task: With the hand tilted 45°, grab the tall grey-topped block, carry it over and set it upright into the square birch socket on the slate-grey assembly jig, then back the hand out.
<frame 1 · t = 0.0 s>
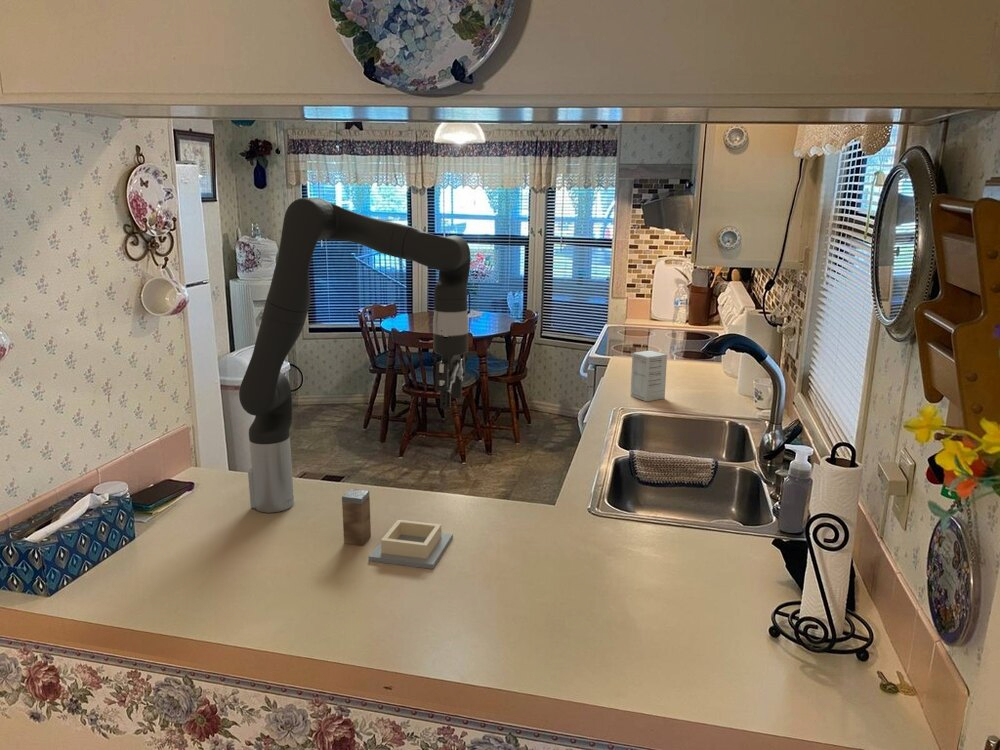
hand: (451, 403, 161), 29 cm above the counter, tool pointing down, fingers open, 8 cm apart
tall grey-topped block: (357, 540, 160), on the counter
jig: (412, 549, 157), on the counter
supplement box: (647, 397, 274), on the counter
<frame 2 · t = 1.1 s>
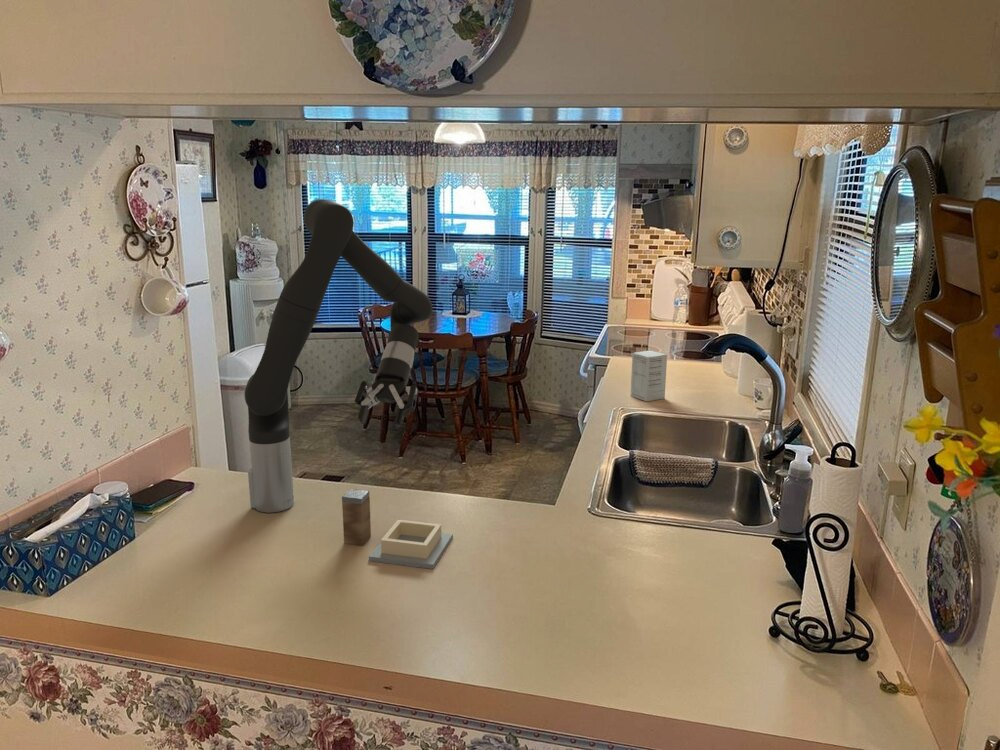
hand: (379, 424, 168), 22 cm above the counter, tool tilted 45°, fingers open, 8 cm apart
nothing on the counter moved.
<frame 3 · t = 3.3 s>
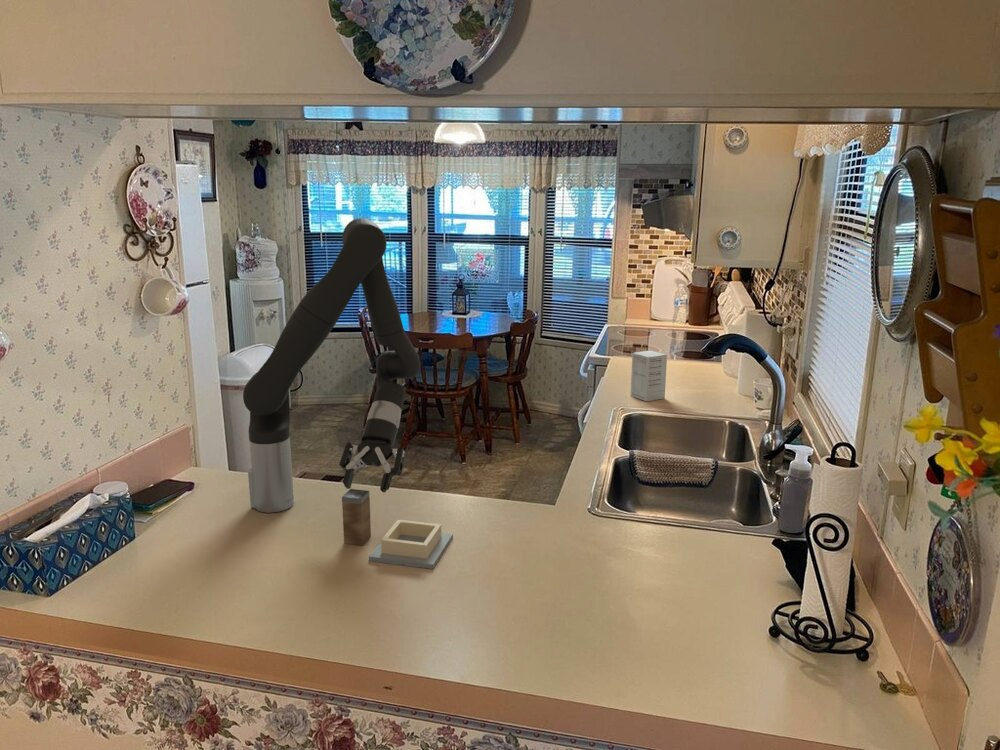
hand: (364, 489, 162), 10 cm above the counter, tool tilted 45°, fingers open, 8 cm apart
nothing on the counter moved.
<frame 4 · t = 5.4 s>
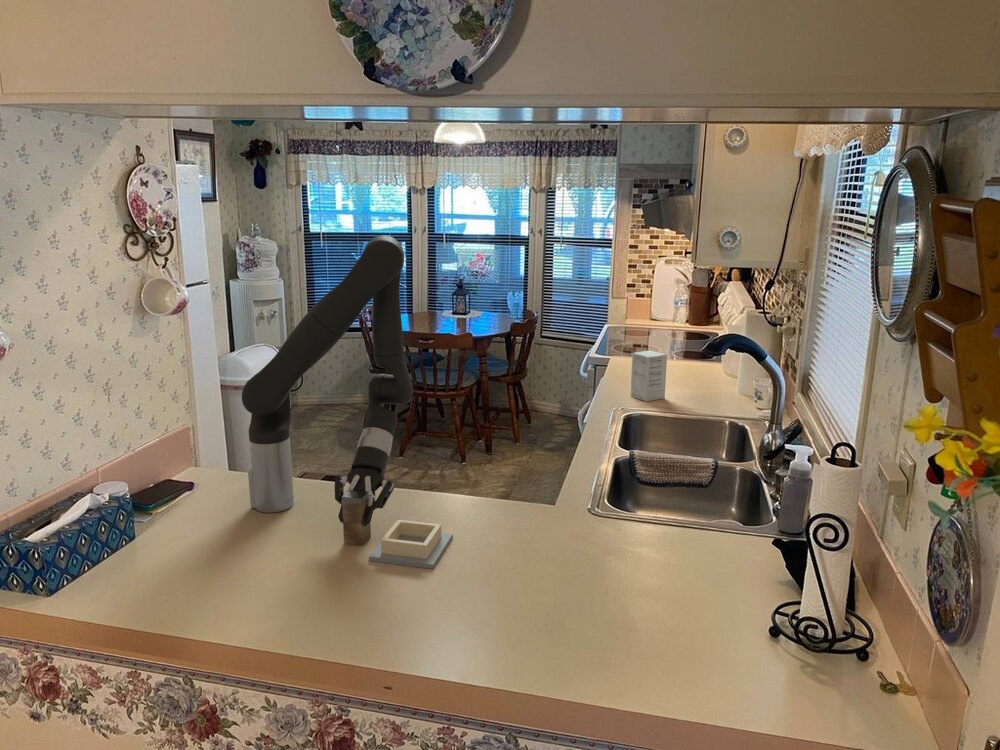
hand: (353, 523, 157), 5 cm above the counter, tool tilted 45°, fingers closed on tall grey-topped block, 4 cm apart
tall grey-topped block: (357, 540, 160), on the counter, touching gripper
everything else where it was.
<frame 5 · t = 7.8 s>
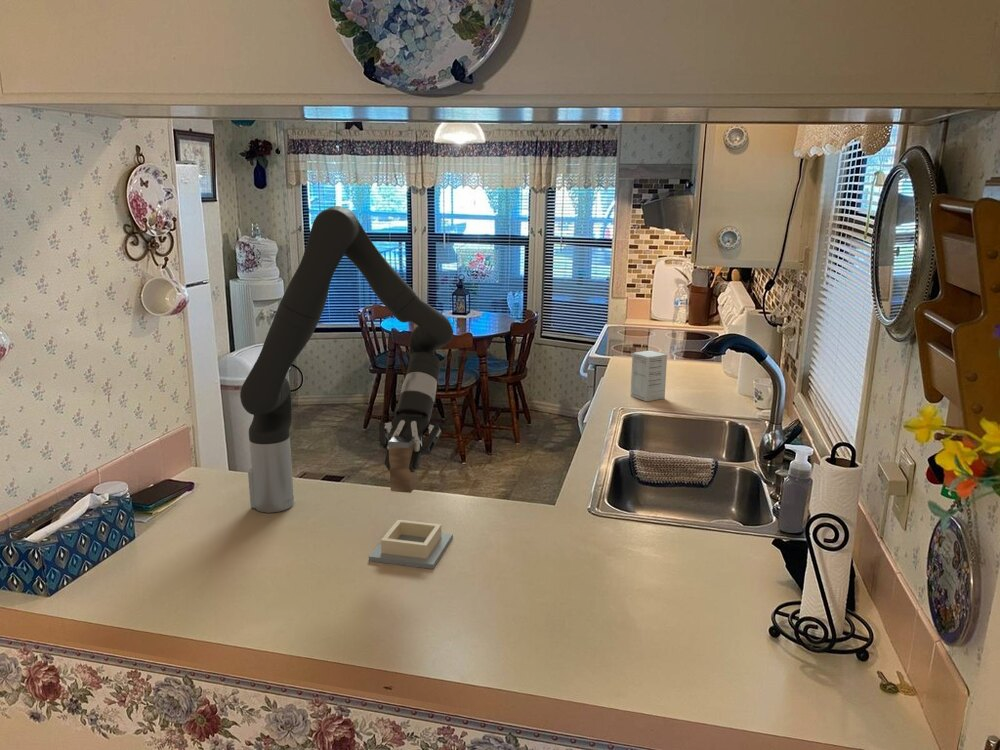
hand: (400, 469, 151), 19 cm above the counter, tool tilted 45°, fingers closed on tall grey-topped block, 4 cm apart
tall grey-topped block: (404, 487, 154), point 14 cm above the counter, touching gripper
everything else where it was.
when the fingers open (7 cm above the counter, at t = 10.4 s): tall grey-topped block drops 1 cm, resting on jig.
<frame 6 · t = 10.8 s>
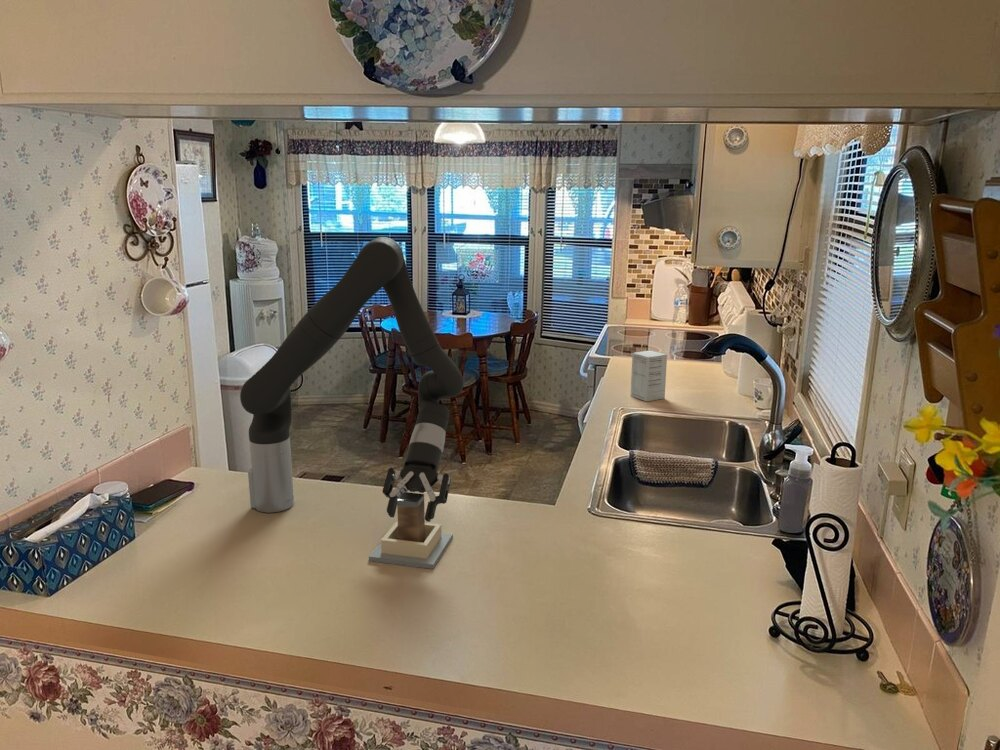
hand: (409, 518, 153), 8 cm above the counter, tool tilted 45°, fingers open, 7 cm apart
tall grey-topped block: (411, 544, 157), point 1 cm above the counter, touching jig
everything else where it was.
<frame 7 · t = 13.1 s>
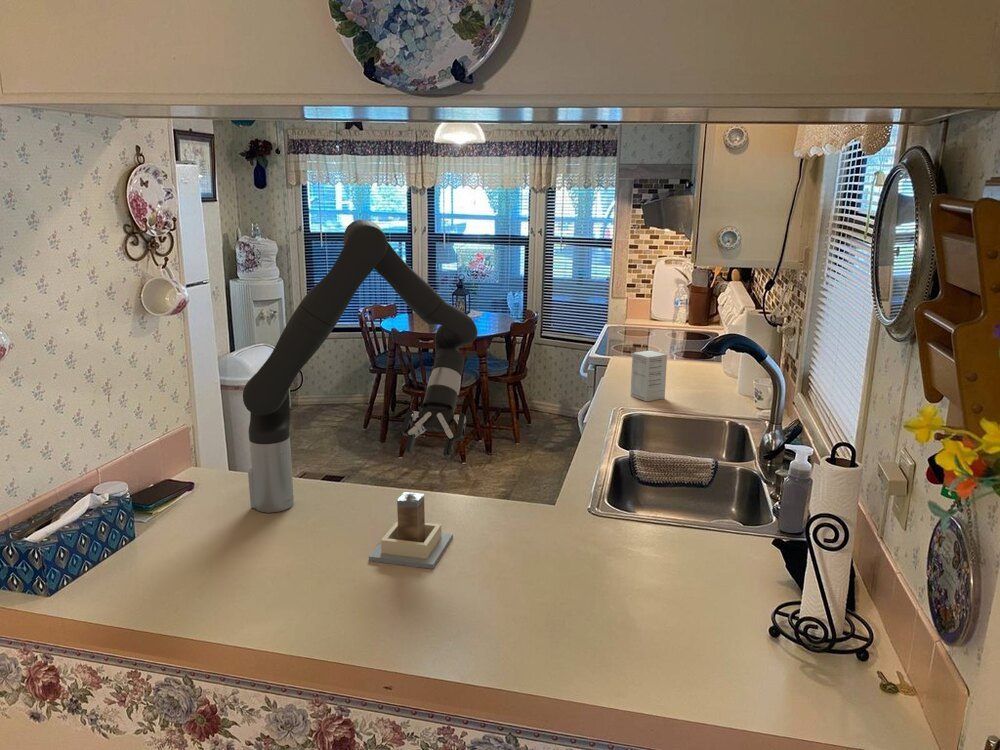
hand: (427, 454, 163), 18 cm above the counter, tool tilted 45°, fingers open, 8 cm apart
nothing on the counter moved.
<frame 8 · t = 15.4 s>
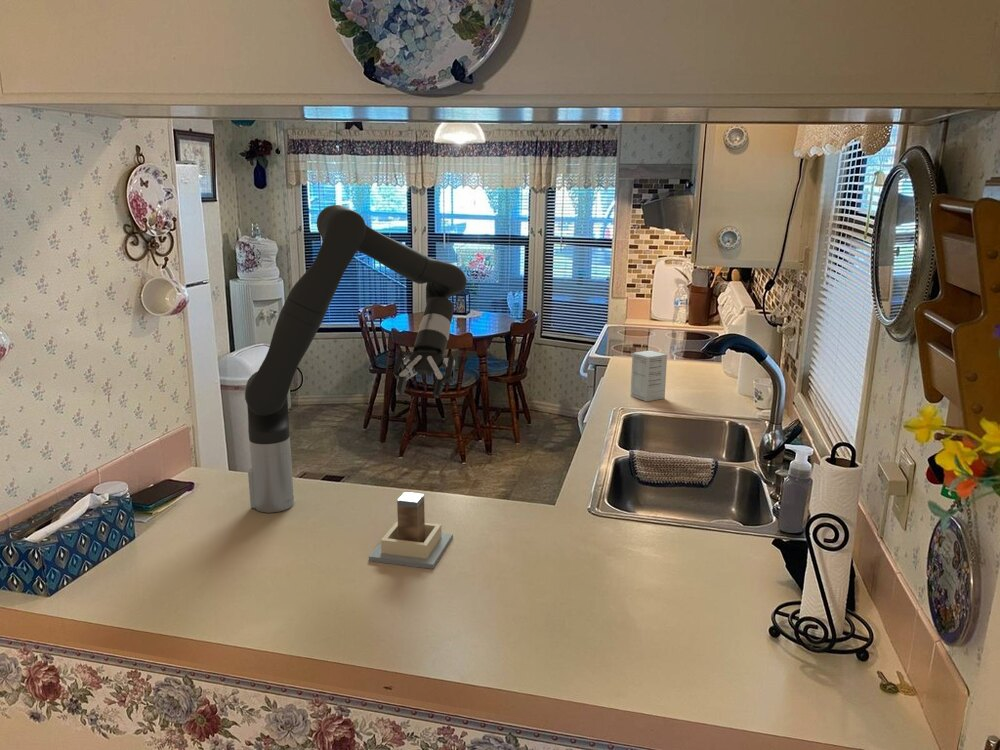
hand: (418, 394, 169), 29 cm above the counter, tool tilted 45°, fingers open, 8 cm apart
nothing on the counter moved.
at the end: tall grey-topped block 0.1 cm off-centre on the jig, point 1.0 cm above the jig's base; tall grey-topped block tilted 0°; the gripper is holding nothing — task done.
